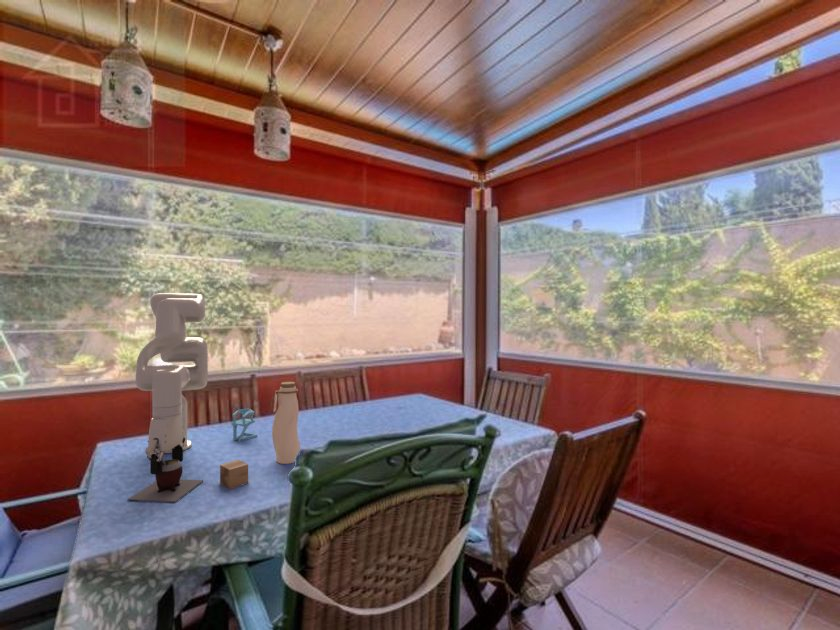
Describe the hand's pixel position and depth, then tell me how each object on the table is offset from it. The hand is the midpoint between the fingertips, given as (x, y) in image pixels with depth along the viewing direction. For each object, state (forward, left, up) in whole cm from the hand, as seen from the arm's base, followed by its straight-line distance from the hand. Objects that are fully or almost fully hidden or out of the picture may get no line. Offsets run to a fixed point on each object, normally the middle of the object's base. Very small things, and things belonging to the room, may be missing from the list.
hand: (167, 467), depth 127 cm
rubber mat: (0, 0, -7) cm, 7 cm away
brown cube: (+17, +7, -7) cm, 20 cm away
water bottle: (+26, +27, -7) cm, 38 cm away
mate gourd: (0, 0, -7) cm, 7 cm away
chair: (0, +49, -7) cm, 50 cm away
